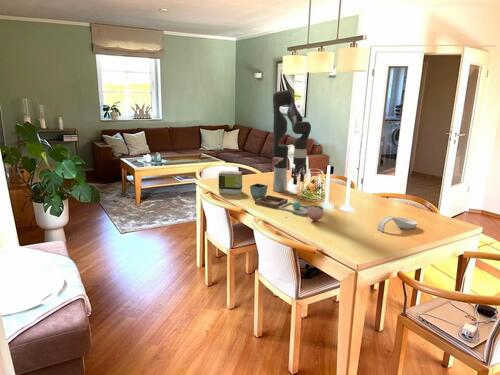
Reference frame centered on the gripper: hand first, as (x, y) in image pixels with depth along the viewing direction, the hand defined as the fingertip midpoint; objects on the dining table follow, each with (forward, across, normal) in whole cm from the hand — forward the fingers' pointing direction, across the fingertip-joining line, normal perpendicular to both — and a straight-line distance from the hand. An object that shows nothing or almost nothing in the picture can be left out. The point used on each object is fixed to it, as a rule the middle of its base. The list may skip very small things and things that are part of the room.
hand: (298, 183), depth 219 cm
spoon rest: (+17, -6, +57) cm, 60 cm away
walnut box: (+17, 0, -18) cm, 25 cm away
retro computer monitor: (+18, -6, -56) cm, 59 cm away
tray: (+17, 0, 0) cm, 17 cm away
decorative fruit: (+17, +11, +17) cm, 26 cm away
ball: (+16, 0, 0) cm, 16 cm away
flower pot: (+18, -6, -32) cm, 37 cm away
